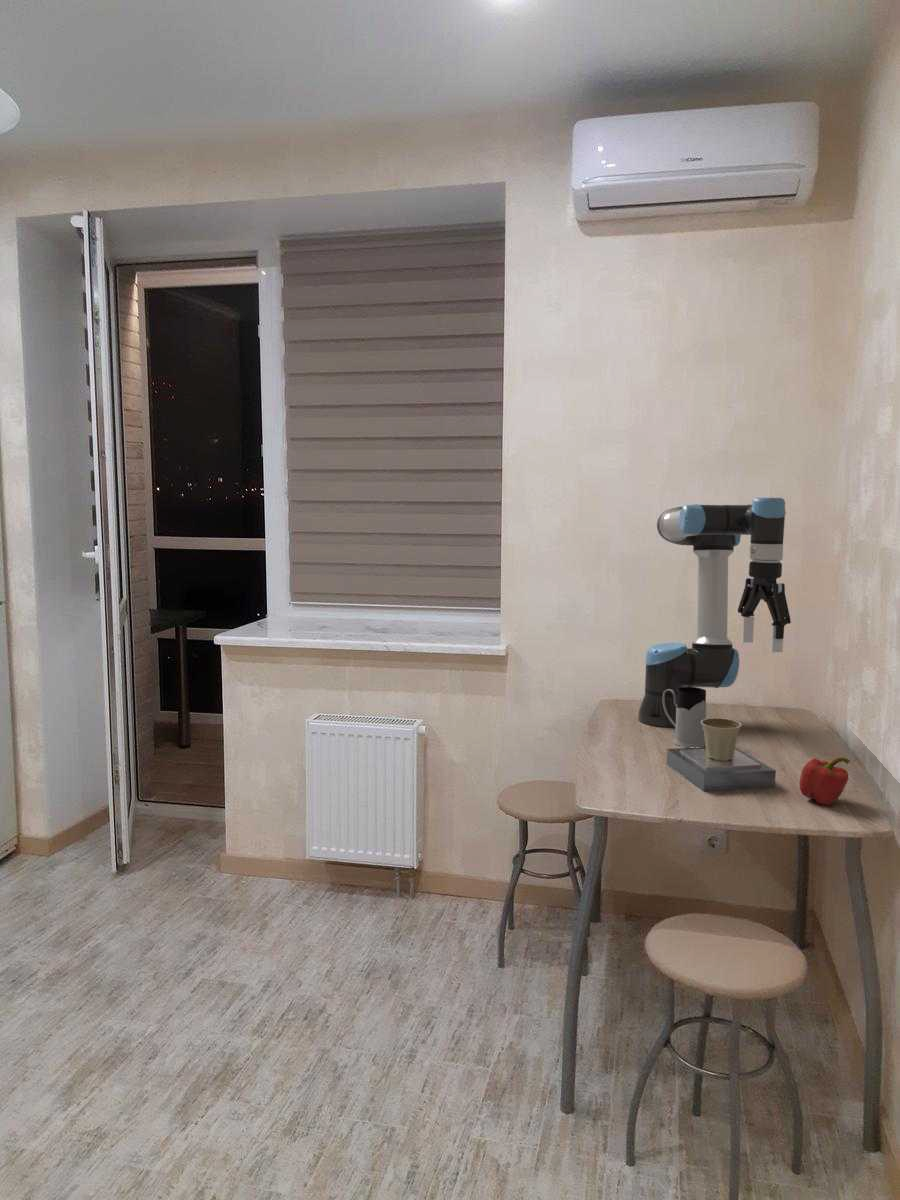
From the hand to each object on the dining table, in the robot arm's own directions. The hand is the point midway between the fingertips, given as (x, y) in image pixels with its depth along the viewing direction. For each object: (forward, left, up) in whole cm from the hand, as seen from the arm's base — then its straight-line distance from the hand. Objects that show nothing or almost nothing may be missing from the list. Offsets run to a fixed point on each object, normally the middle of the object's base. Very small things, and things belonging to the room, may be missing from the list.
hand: (761, 647), depth 211 cm
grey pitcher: (-25, -8, -31) cm, 41 cm away
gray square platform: (+4, -12, -31) cm, 33 cm away
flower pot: (+4, -12, -26) cm, 29 cm away
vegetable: (+24, +3, -31) cm, 39 cm away
